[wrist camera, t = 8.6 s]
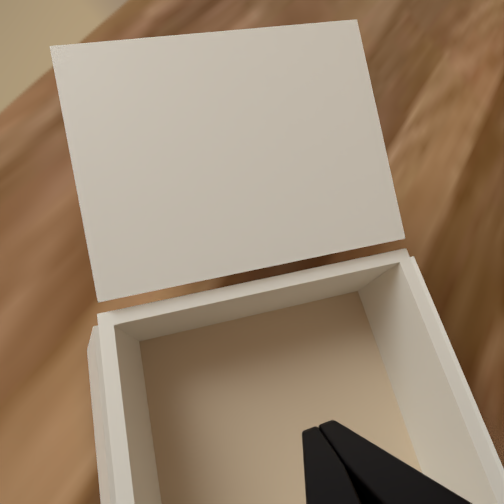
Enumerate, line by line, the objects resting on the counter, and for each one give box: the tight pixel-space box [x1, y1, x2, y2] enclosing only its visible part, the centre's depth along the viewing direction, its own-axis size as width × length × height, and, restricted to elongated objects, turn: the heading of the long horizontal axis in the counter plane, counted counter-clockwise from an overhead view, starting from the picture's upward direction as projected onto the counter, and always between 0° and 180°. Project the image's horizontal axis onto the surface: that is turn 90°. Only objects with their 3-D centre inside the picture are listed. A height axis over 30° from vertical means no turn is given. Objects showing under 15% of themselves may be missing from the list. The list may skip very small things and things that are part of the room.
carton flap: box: [50, 19, 405, 302], centre depth 14 cm, size 1×12×9 cm
